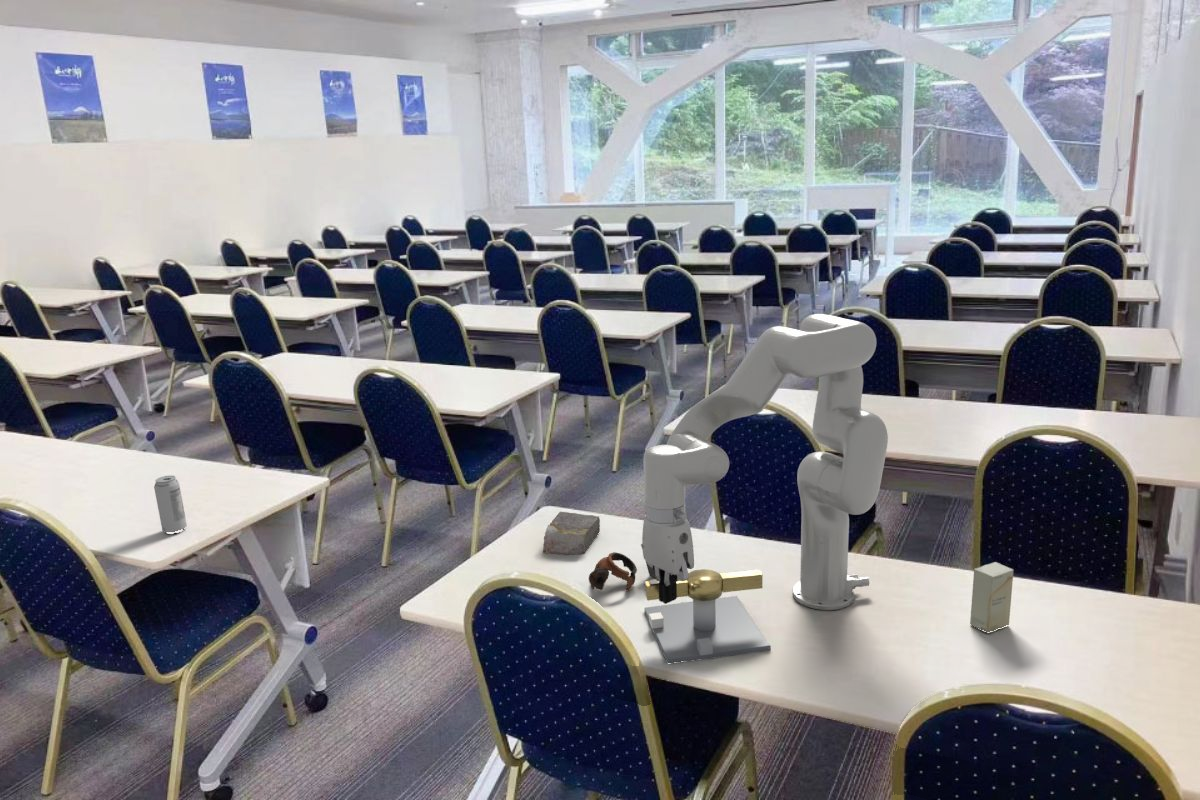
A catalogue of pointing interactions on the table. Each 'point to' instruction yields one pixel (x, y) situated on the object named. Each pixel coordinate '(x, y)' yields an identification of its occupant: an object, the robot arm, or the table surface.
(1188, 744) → the table surface
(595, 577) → the brown headphones
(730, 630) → the lock base
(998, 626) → the skincare box
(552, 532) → the geological specimen
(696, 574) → the handle
